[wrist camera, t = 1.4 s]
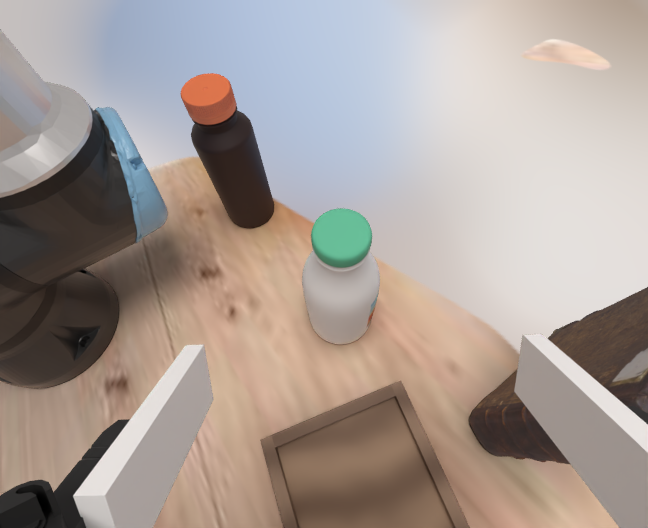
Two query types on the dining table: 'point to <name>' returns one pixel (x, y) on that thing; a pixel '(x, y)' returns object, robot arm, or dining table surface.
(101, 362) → the dining table surface
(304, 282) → the milk bottle
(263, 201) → the vinegar
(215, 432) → the dining table surface
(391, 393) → the walnut tray
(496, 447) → the book
